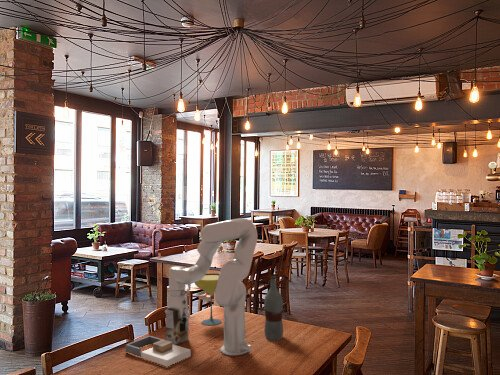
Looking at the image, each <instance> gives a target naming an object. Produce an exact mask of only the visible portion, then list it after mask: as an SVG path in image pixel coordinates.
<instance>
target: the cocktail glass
mask: <svg viewBox="0 0 500 375" xmlns="http://www.w3.org/2000/svg"><path fill="white" fill-rule="evenodd" d="M219 274H220V273H206V275H205V276H204V277H203V278H202V279H201V280H199V281H197V282H194V285H195V286H196V287H197V288H198V289H200V290H202V291H205V292H206V293H207V294H208V295H209V296H210V316H209V318H207V319H203V320H202V321H201V324H202V325H204V326H209V327H210V326H218V325H220V324H221V323H222V320H221V319H218V318H214V317H213V298H212V297H213V295H215V289H216V285H217V282H218V278H219Z"/></svg>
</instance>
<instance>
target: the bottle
mask: <svg viewBox="0 0 500 375" xmlns="http://www.w3.org/2000/svg"><path fill="white" fill-rule="evenodd" d="M283 300H284V299H283V296H282V294H281V293H280V291H279V290H278V288H277V276H275V275H271V276H270V287H269V289H268V291H267V292H266V294H265V296H264V302H263V306H264V318H265V323H264V329H263V330H264V336H265V339H266V340H268V341H280V340H282V339H283V336H284V325H283V309H284V308H283V307H284V301H283Z"/></svg>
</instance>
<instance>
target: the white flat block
mask: <svg viewBox="0 0 500 375" xmlns="http://www.w3.org/2000/svg"><path fill="white" fill-rule="evenodd" d="M191 351H192V350H191V348H187V347H182V346H180V345H178V344H176V345H173V349H171V350H169V351H167V352H165V353H159V352H156V351H153V347H152V348H149V349H147V350H144V351H142V352H141V357H143V358H146V359H149V360H152V361H154V362H157V363H159V364H162V365H164V366H169V367H171V366H170V365H172V364H174V365H175V363H176V364H178V363H179V361H180V362H182V361H184V360H186V359H188V358H190V357H191V354H192V353H191ZM185 358H186V359H185ZM183 359H184V360H183ZM181 360H182V361H181ZM177 362H178V363H177ZM164 366H163V367H164ZM172 366H173V365H172Z"/></svg>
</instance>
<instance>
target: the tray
mask: <svg viewBox="0 0 500 375" xmlns="http://www.w3.org/2000/svg"><path fill="white" fill-rule="evenodd" d="M160 340H164V339H163V338H159V337H156V336H152V335H147V336H145V337H143V338H139V339H137V340H134V341H132V342H128V343H127V344H125V353H126V352H129V353H132V354H134V355H137V356H140V357H141V348H140V347H143V346H145V345H148V344H152V345H153V343H155V342H158V341H160Z"/></svg>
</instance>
